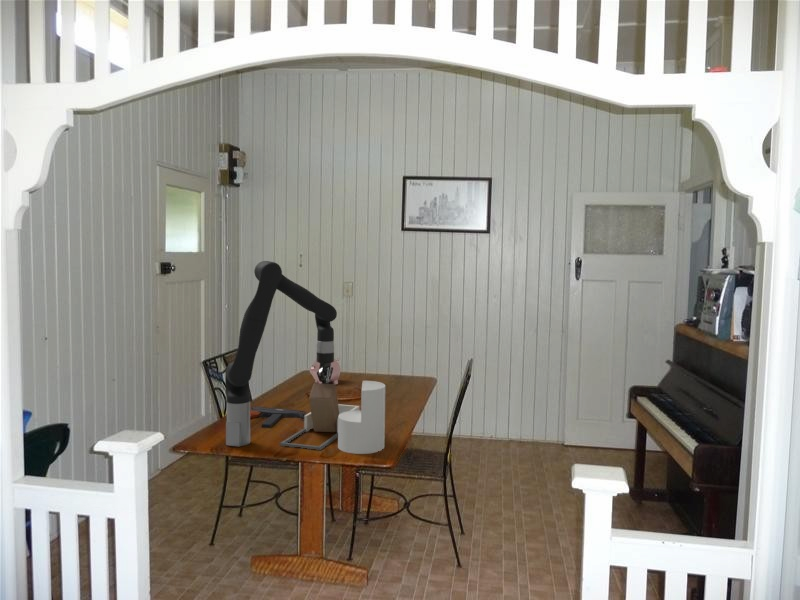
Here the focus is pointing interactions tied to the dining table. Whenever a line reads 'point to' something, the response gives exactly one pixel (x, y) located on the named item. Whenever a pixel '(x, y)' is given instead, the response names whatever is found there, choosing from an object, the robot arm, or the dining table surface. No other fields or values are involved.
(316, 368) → the piggy bank
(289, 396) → the dining table surface
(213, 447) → the dining table surface
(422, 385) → the dining table surface
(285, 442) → the frame
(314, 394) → the wooden block
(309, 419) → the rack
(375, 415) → the cylinder
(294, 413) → the submachine gun
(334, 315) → the robot arm
